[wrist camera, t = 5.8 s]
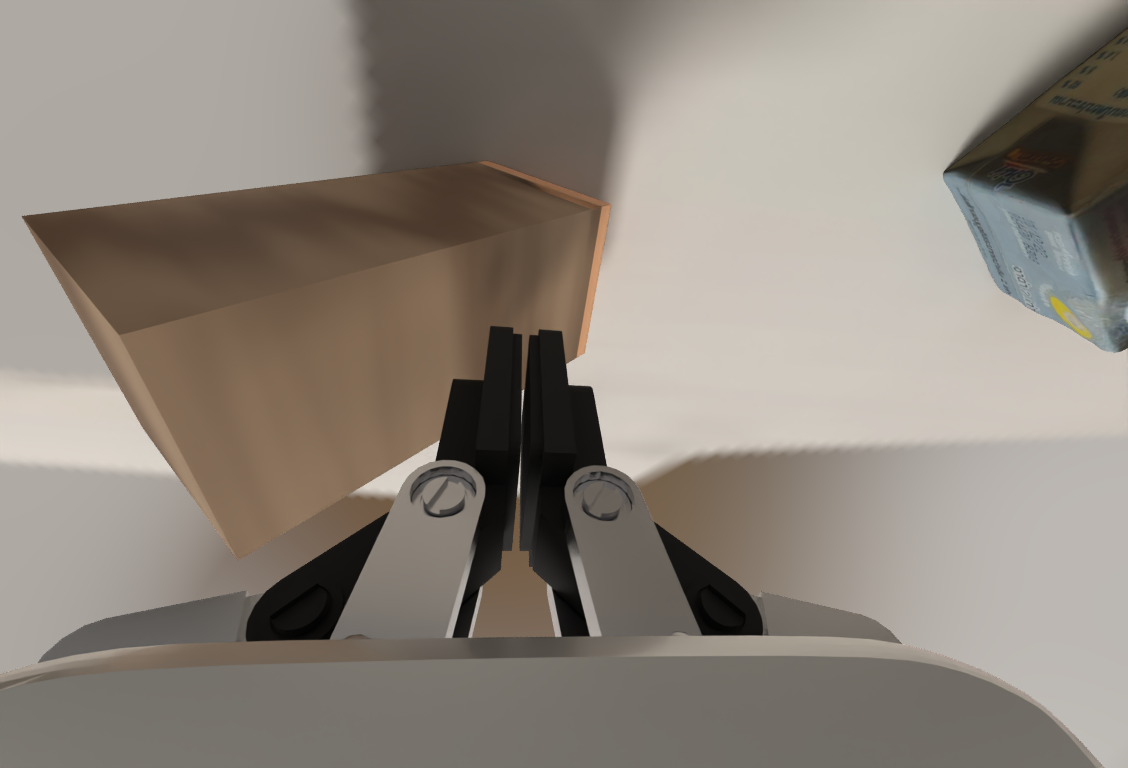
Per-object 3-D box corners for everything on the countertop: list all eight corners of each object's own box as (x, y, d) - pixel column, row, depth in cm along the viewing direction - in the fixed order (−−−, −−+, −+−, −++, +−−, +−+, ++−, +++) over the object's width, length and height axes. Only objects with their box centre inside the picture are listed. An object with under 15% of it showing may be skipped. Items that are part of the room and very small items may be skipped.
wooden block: (611, 204, 14) (119, 335, 6) (584, 352, 18) (237, 560, 10) (487, 160, 17) (21, 216, 9) (484, 298, 20) (142, 428, 12)
